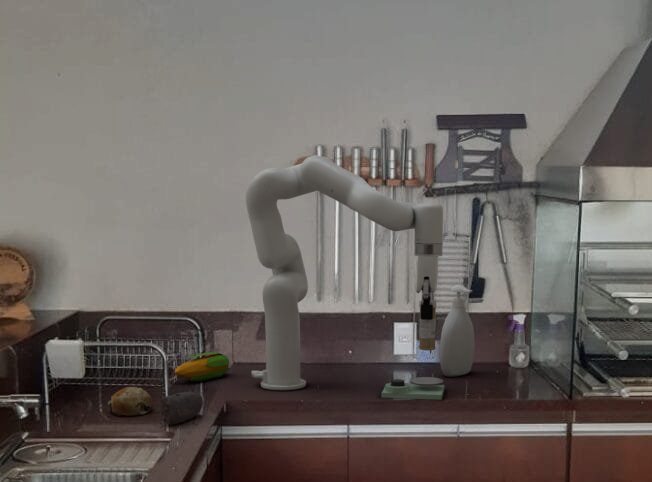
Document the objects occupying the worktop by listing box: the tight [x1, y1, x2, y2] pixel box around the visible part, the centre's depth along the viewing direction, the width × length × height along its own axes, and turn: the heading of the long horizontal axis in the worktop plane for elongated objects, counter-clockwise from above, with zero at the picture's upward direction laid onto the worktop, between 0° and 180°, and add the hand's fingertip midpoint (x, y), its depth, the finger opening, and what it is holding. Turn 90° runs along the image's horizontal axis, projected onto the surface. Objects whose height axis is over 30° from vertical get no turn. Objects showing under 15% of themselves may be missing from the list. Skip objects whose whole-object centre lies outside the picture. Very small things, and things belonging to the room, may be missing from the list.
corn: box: [173, 351, 231, 382], centre depth 259 cm, size 7×8×20 cm
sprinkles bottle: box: [418, 299, 437, 351], centre depth 242 cm, size 5×5×13 cm
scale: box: [380, 382, 445, 401], centre depth 243 cm, size 16×12×3 cm
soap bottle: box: [439, 284, 475, 378], centre depth 267 cm, size 14×8×27 cm, turn 137°
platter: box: [410, 376, 444, 386], centre depth 244 cm, size 9×9×1 cm
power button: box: [390, 378, 405, 387], centre depth 241 cm, size 4×4×2 cm
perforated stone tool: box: [159, 391, 204, 426], centre depth 213 cm, size 15×5×7 cm, turn 155°
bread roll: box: [107, 386, 154, 417], centre depth 221 cm, size 10×10×8 cm
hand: (427, 317), depth 241 cm, fingers closed on sprinkles bottle, 4 cm apart
